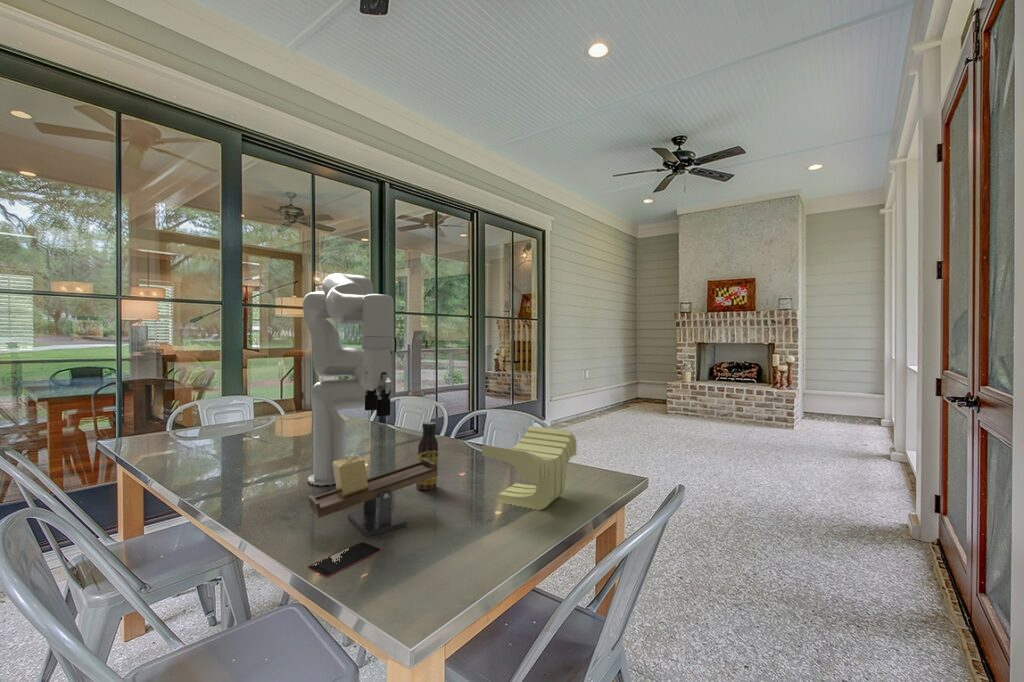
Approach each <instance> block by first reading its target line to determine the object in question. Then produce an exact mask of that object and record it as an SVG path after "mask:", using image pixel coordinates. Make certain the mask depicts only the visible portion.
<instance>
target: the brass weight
mask: <svg viewBox="0 0 1024 682" xmlns="http://www.w3.org/2000/svg"><path fill="white" fill-rule="evenodd" d="M332 463H333V469H334V476H335V483H336V485H335V488H336V489H335V490H337V494H338V495H339V496H340V497H341V498H342V499H344V498H347V497H350V496H353V495H356V494H359V493H362V492H365V491H367V490H369V489H368V482H367V479H368V475H367V468H366V463H365V458H364V457H361V456H360V455H358V454H355V455H352V456H349V457H345V458H344V459H341V460H338V461H334V462H332Z"/></svg>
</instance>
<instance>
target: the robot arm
mask: <svg viewBox="0 0 1024 682" xmlns="http://www.w3.org/2000/svg"><path fill="white" fill-rule="evenodd" d="M321 287H322V291H313V292H312V291H311V292H309V293H306V295H305V296H304V298H303V300H302V313H303V314H302V315H303V317H304V320H305V323H306V326H307V329H308V331H309V335H310V339H311V350H312V352H311V353H312V362H313V363H312V364H313V369H314V370H313V371H314V372H315V374H316V375H317V376H319V377H323V378H324V377H327V378H332V377H335V378H336V377H349V379H331V380H322V381H318V382H316V383H315V384H313V386H312V387H311V389H310V401H311V408H312V416H313V420H312V421H313V438H312V439H313V444H312V445H313V447H312V449H313V450H312V451H313V453H312V454H313V455H312V456H313V457H312V458H313V459H312V474H311V475H309V476H308V477H307V483H308V482H309V483H310V485H312V484H313V485H312V486H316V485H318V486H319V487H320V486H321V487H323V486H324V487H325V485H329V486H334V485H333V484H336V483H335V476H334V469H333V463H332V462H334V461H338V460H341V459H344V458H346V443H347V442H346V436H347V433H346V432H347V431H346V429H347V428H346V427H347V426H346V421H345V419H344V418H343V417H342V416H341V415H340V414H339V412H338V411H342V410H343V411H344V410H352V409H361V408H364V411H375V412H376V413H375V415H376V416H377V417H389V416H391V398H392V397H391V393H392V390H391V388H392V377H393V376H392V375H393V374H392V373H393V372H392V371H393V370H392V355H391V354H392V353H391V352H392V351H394V322H395V321H394V317H395V316H394V309H395V303H394V298H393V297H392V295H389V294H383V293H382V294H380V293H374V285H373V283H372V281H371V279H370V278H369V277H368V276H366V275H361V274H359V275H358V274H351V273H350V274H349V273H332V274H329V275H328V276H326V277H325V278H324V279H323V282H322V286H321ZM328 319H332V321H335V322H336V323H339V324H343V325H344V324H349V325H351V324H352V325H361V349H360V348H358V347H346V346H345V347H344V346H343V347H342V346H341V343H340V342H341V340H340V334H339V331H338V329H337V328H336V327H335V326H334V324H333V323H332V322H330V321H329V320H328ZM309 483H308V484H309ZM318 486H317V487H318Z"/></svg>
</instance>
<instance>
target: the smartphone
mask: <svg viewBox="0 0 1024 682" xmlns="http://www.w3.org/2000/svg"><path fill="white" fill-rule="evenodd" d="M348 548H349V550H348V551H346V552H345V551H344V552H345V553H344V552H343V554H342V553H341V555H340V556H342V558H341V557H340V562H339V560H338V561H336V562H335V563H334V561H333V562H332V558H330V557H331V556H332V555H333V554H332V555H329V556H327V557H328V558H327V557H324V558H322V559H320V560H318V561H316V562H314V563H312V564H309V565H308V566H307V569H308V568H309V569H310V570H309V569H308V570H309V571H311V570H312V571H311V572H313V571H314V572H313V573H315V572H316V573H315V574H317V573H319V574H320V575H319V574H318V575H319V576H321V575H322V576H321V577H323V576H325V577H324V578H330V577H333V576H334V575H336V573H337V574H339V573H340V572H339V571H341V572H343V571H345V570H346V568H347V569H349V568H350V567H353V566H354V565H356V564H358V563H360V562H362V560H363V561H364V559H365V560H366V558H367V559H368V557H369V558H370V556H371V557H373V556H374V554H375V555H377V554H379V553H381V552H382V548H380V547H378V546H375V545H372V544H370V543H368V542H364V541H361V542H358V543H356V544H353V545H351V546H349V547H348ZM380 551H381V552H380ZM376 553H377V554H376ZM372 555H373V556H372ZM326 558H327V559H326ZM338 559H339V558H338ZM321 560H322V562H321ZM336 560H337V559H336ZM319 561H320V562H319ZM316 563H317V565H316V566H315V565H313V564H316ZM318 563H319V564H318ZM336 563H337V564H336ZM310 565H311V566H310ZM312 565H313V566H312ZM348 567H349V568H348ZM342 570H343V571H342ZM333 574H334V575H333Z"/></svg>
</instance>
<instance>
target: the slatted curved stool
mask: <svg viewBox="0 0 1024 682" xmlns="http://www.w3.org/2000/svg"><path fill="white" fill-rule="evenodd" d="M577 446H578V445H577V439H576V436H575V435H574V433H573V432H571V431H570V430H566V429H560V428H552V427H543V426H534V425H529V426H528V428H527V431H526V432H525V433H524V435H523V436H522V437H521V439H520V440H519V441H518V442H517V443H516V444H515V445H514V446H513V447H512V448H510V449H509V448H504V447H497V446H489V445H483V444H482V446H481V456H482V457H486V458H491V459H494V460H495V459H496V460H499V461H501V462H505V463H508V464H510V465H511V466H513V467H514V468H515V469H516V470H517V472H518V475H519V477H520V481H521V482H522V481H523V482H527V483H534V484H535V485H531V484H524V483H523V484H522V483H518V482H515V483H514V484H512V485H511V486H509V487H507V488H506V489H504V490H502V491H501V492H500V493H498V494H497V497H496V498H497V499H496V502H497V501H498V502H497V503H500V502H502V503H501V504H505V503H506V504H505V505H509V504H512V505H511V506H514V505H516V506H515V507H519V506H522V507H521V508H524V507H527V508H526V509H529V508H532V509H531V510H534V509H537V510H536V511H542V510H544V509H546V508H547V507H548V506H549V505H550V504H551V503H553V502H554V501H555V500H556V499H557V498H559V497H560V496H561V495H562V494H563V493H564V491H565V488H566V477H567V476H566V475H567V464H569V462H570V460H571V458H572V457H574V456H575V457H576V456H577Z"/></svg>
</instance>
